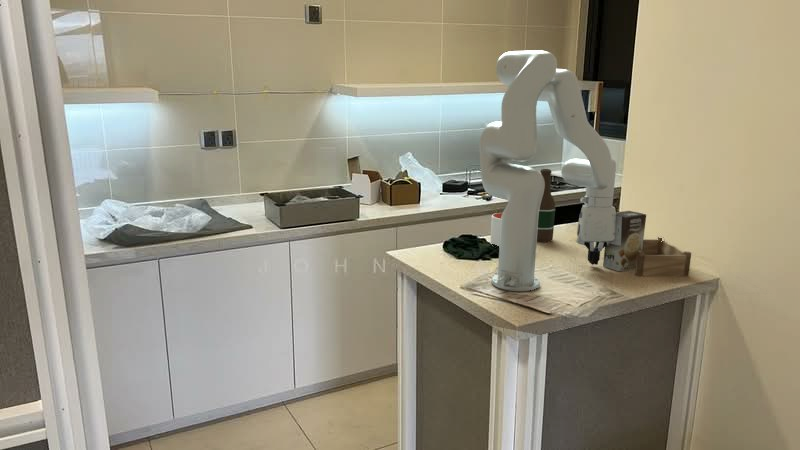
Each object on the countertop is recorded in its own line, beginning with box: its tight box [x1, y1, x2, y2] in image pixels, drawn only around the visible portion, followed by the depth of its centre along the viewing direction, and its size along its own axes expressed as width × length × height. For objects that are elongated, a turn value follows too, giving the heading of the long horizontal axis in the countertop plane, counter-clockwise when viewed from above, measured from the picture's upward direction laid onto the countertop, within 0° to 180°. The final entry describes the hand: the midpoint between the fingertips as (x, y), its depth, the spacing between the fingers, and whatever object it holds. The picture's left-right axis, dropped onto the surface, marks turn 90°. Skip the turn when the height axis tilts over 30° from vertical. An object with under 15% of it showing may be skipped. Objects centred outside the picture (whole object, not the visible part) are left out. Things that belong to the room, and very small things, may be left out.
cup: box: [490, 212, 503, 246], centre depth 204 cm, size 10×10×10 cm
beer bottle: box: [537, 168, 556, 243], centre depth 211 cm, size 8×8×24 cm
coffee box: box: [602, 210, 647, 272], centre depth 183 cm, size 9×6×16 cm
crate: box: [635, 236, 692, 277], centre depth 185 cm, size 18×15×7 cm
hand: (593, 263), depth 184 cm, fingers closed
